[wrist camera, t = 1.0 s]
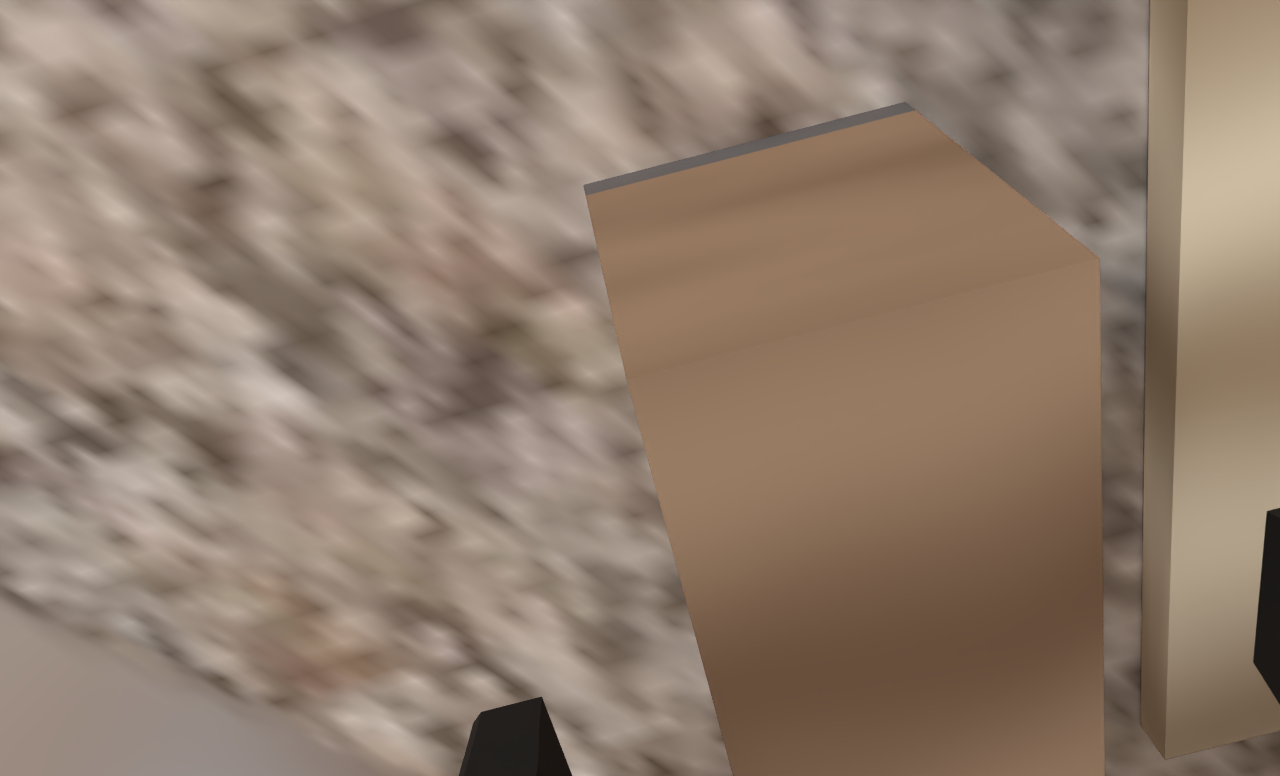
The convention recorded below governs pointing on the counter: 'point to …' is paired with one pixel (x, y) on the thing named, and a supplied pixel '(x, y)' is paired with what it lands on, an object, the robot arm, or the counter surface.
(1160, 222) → the board
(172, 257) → the counter surface
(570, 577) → the counter surface
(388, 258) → the counter surface
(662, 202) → the sanding block
